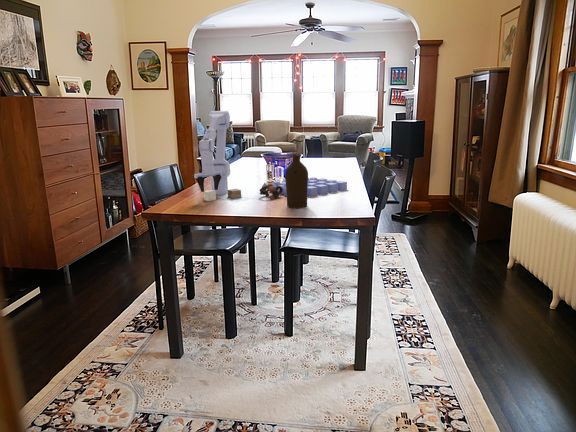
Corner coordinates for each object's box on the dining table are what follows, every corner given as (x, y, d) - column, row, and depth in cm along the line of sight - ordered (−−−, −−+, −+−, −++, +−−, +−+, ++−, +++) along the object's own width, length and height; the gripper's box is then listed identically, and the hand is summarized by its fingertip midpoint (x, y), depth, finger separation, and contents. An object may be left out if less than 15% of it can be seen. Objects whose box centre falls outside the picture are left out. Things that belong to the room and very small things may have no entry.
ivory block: (204, 200, 228) (203, 190, 227) (212, 199, 231) (211, 189, 229) (208, 201, 224) (207, 192, 223) (216, 200, 227) (215, 190, 226)
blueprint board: (216, 197, 235) (216, 196, 235) (235, 194, 242) (235, 193, 242) (233, 202, 221) (233, 201, 221) (253, 199, 228) (253, 198, 228)
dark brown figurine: (266, 202, 223) (259, 187, 224) (262, 206, 232) (256, 192, 233) (287, 193, 227) (280, 179, 228) (283, 198, 236) (276, 184, 237)
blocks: (299, 200, 226) (298, 190, 225) (259, 191, 252) (258, 182, 251) (347, 190, 247) (347, 181, 246) (305, 183, 273) (305, 175, 272)
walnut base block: (227, 197, 232) (227, 189, 231) (236, 196, 235) (235, 188, 234) (232, 198, 228) (232, 191, 227) (241, 197, 231) (240, 189, 230)
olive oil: (312, 207, 208) (311, 153, 202) (291, 209, 204) (290, 154, 198) (302, 202, 217) (301, 151, 211) (282, 205, 213) (281, 152, 207)
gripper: (197, 166, 216) (199, 193, 219) (224, 163, 224) (225, 190, 227) (191, 164, 221) (193, 191, 224) (217, 162, 229) (219, 188, 233)
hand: (209, 190), depth 226 cm, fingers open, 7 cm apart
